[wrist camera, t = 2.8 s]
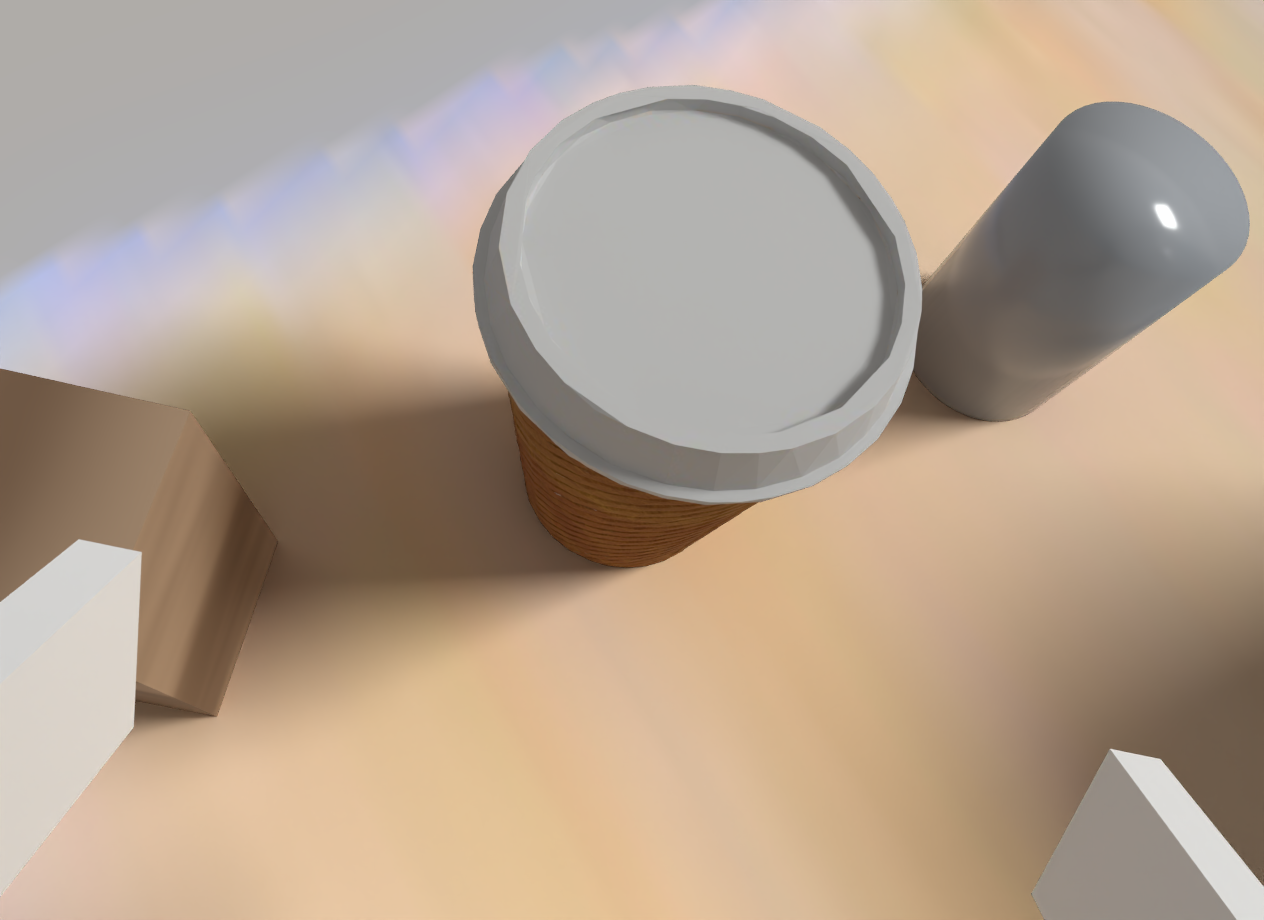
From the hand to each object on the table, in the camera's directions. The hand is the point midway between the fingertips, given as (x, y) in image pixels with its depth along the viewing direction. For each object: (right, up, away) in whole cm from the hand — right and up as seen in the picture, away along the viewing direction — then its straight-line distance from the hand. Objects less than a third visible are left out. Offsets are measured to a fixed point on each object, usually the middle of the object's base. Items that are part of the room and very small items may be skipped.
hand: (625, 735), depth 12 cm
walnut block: (-13, 0, +13) cm, 18 cm away
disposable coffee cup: (0, +3, +17) cm, 17 cm away
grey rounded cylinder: (+13, +8, +21) cm, 26 cm away
